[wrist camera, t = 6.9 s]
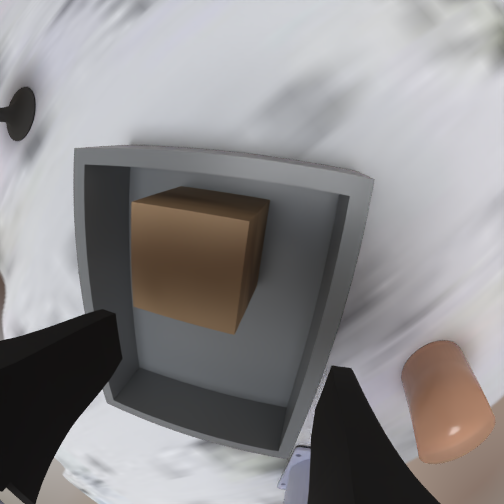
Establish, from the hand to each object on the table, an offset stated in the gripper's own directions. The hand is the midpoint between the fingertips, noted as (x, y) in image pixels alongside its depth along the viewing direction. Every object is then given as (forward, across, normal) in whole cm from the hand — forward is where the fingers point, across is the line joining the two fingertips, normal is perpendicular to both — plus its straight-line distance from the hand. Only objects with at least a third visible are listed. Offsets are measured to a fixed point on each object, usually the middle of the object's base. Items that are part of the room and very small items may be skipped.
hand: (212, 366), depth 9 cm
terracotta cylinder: (+9, -13, +6) cm, 17 cm away
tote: (+9, +3, +3) cm, 10 cm away
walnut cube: (+8, +3, -1) cm, 9 cm away
